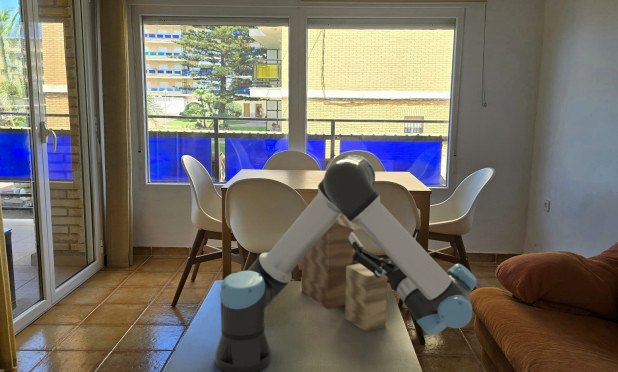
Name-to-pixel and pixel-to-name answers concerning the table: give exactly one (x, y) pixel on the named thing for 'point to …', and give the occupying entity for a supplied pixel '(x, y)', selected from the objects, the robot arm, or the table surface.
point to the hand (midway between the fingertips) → (368, 232)
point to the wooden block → (347, 223)
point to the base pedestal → (365, 298)
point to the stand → (328, 267)
